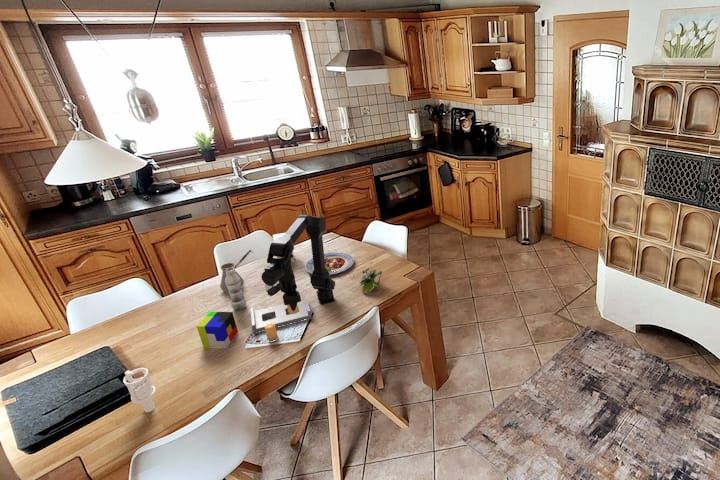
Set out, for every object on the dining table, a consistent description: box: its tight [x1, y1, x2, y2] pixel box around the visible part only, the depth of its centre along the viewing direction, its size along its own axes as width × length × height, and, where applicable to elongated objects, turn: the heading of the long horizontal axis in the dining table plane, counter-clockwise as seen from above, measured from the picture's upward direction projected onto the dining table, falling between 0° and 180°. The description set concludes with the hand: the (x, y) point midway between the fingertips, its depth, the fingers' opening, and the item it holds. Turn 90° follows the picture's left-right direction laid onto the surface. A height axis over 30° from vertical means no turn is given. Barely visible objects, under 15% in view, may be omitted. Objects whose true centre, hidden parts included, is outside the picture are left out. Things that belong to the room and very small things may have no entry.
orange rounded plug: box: [264, 324, 279, 341], centre depth 156 cm, size 4×4×6 cm
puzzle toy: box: [196, 311, 239, 349], centre depth 159 cm, size 10×10×10 cm
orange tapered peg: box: [287, 304, 299, 315], centre depth 155 cm, size 4×4×6 cm
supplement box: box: [272, 232, 295, 263], centre depth 220 cm, size 9×9×15 cm
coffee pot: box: [219, 249, 254, 294], centre depth 200 cm, size 21×12×15 cm, turn 143°
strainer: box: [122, 367, 157, 413], centre depth 127 cm, size 7×7×15 cm
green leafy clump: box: [358, 268, 383, 294], centre depth 183 cm, size 11×11×12 cm
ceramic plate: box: [304, 251, 355, 276], centre depth 210 cm, size 26×26×3 cm
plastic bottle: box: [225, 267, 247, 311], centre depth 177 cm, size 6×7×20 cm
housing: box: [250, 294, 313, 334], centre depth 170 cm, size 24×14×4 cm, turn 107°
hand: (292, 307), depth 155 cm, fingers closed on orange tapered peg, 4 cm apart
